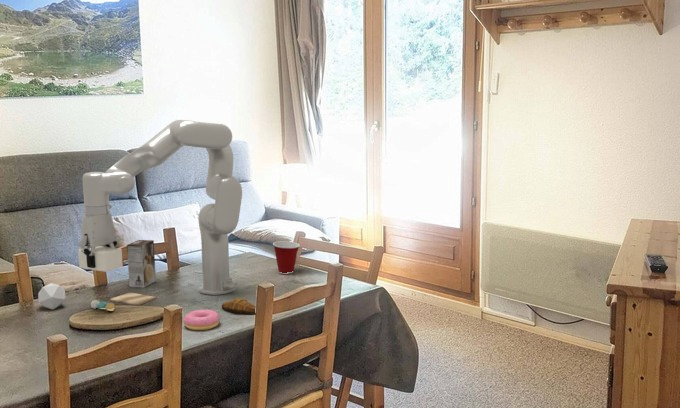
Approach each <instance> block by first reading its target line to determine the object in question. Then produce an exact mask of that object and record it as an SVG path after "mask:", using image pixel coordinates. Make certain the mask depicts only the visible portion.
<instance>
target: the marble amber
mask: <svg viewBox="0 0 680 408" xmlns="http://www.w3.org/2000/svg"><path fill="white" fill-rule="evenodd" d="M105 308H106V309H112V308H115V309H116V305H115V303H113V302H108V303H107V305H106V307H105Z"/></svg>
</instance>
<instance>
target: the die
mask: <svg viewBox="0 0 680 408" xmlns="http://www.w3.org/2000/svg"><path fill="white" fill-rule="evenodd" d="M37 295H38V304H40V305H41V306H42V307H44V308H46V309H48V310H52V311H54V310H55V309H57V308H58V307H60V306H62V304H63V303H64V302H65V301H66V290H65V289H64V288H63V287H62V286H61V285H60V284H56V283H53V282H50V283H48V284H46V285H45V286H42V288H41V289H40V290H39V292H37Z"/></svg>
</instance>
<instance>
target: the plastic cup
mask: <svg viewBox="0 0 680 408" xmlns="http://www.w3.org/2000/svg"><path fill="white" fill-rule="evenodd" d="M272 246H273V249H274V252H275V253H274V254H275V258H276V264H277V271H278V273H279V272H282V273H287V272H292V271H295V265H296V259H297V255H298V251H299V248H300V247H301V245H300V243H298V242H294V241H285V240H284V241H282V240H281V241H280V240H279V241H274V242H273V243H272Z"/></svg>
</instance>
